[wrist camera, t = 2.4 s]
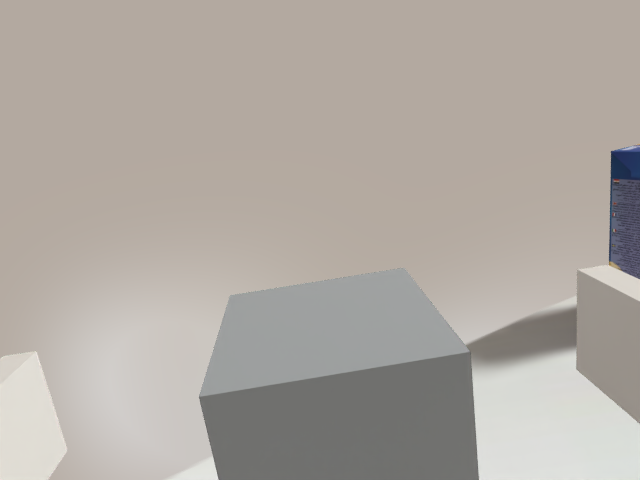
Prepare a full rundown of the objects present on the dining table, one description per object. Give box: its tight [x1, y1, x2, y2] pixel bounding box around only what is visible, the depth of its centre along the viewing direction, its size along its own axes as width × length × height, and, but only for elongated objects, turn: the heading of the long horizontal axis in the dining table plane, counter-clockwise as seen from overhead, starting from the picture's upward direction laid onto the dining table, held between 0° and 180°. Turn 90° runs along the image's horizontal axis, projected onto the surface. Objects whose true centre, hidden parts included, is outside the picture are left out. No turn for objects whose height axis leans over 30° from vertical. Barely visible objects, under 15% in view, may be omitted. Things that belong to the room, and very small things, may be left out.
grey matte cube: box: [199, 268, 479, 480], centre depth 23 cm, size 10×10×9 cm
